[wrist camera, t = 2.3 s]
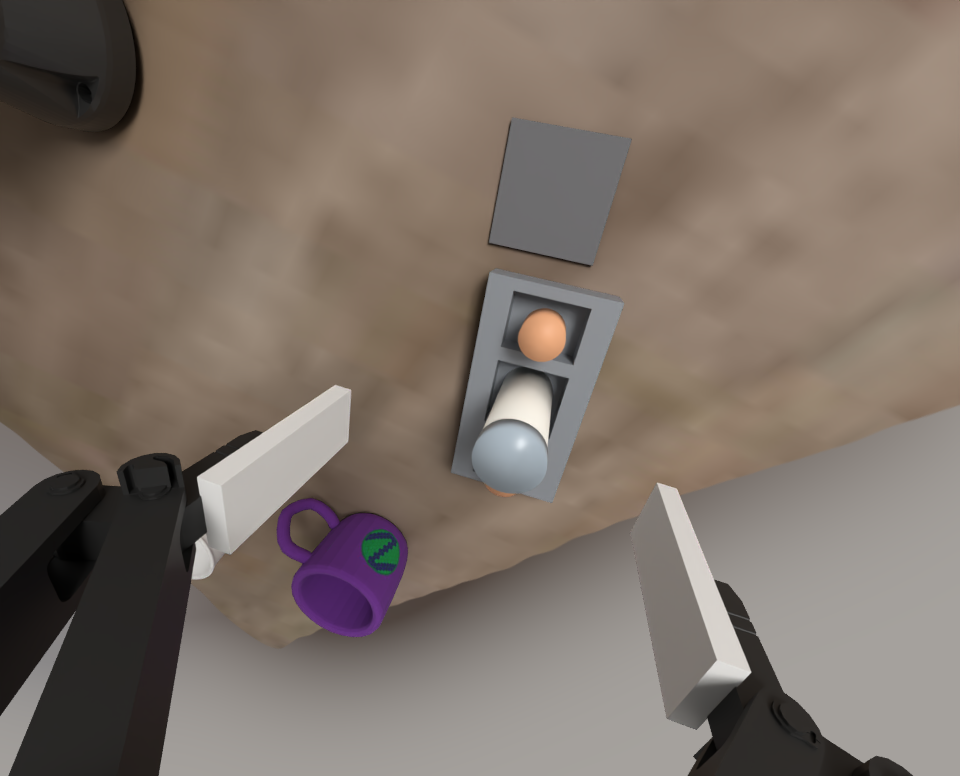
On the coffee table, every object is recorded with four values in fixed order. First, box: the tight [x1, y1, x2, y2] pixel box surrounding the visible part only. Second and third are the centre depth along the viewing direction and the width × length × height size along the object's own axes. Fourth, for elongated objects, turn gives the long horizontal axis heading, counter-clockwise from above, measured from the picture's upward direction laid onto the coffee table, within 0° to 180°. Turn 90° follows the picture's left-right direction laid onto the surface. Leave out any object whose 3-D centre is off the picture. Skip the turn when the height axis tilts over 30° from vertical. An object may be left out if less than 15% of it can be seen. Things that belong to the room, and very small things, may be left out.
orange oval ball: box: [518, 308, 566, 362], centre depth 29 cm, size 4×4×3 cm
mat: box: [489, 118, 632, 266], centre depth 29 cm, size 9×9×1 cm
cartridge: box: [472, 366, 553, 494], centre depth 31 cm, size 5×5×12 cm
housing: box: [451, 268, 624, 503], centre depth 35 cm, size 21×11×3 cm, turn 169°
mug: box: [277, 498, 408, 637], centre depth 46 cm, size 17×11×10 cm, turn 45°
